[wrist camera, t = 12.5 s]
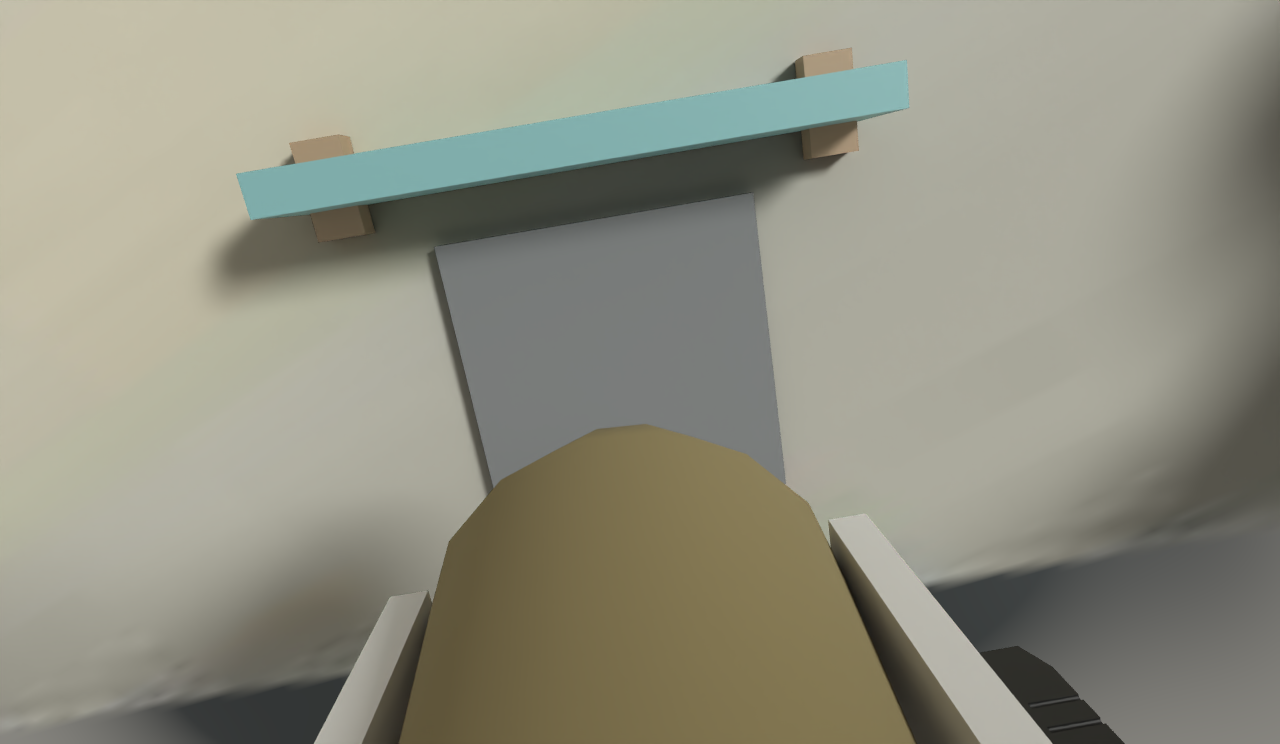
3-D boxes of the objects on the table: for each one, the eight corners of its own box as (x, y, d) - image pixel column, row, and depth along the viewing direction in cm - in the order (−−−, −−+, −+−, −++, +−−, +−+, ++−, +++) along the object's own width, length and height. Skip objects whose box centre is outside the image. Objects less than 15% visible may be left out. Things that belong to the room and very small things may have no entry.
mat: (437, 246, 29) (433, 247, 29) (750, 192, 29) (753, 192, 29) (506, 527, 33) (504, 533, 32) (782, 479, 33) (786, 484, 32)
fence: (290, 146, 28) (224, 138, 23) (853, 51, 28) (905, 23, 23) (318, 242, 29) (261, 253, 24) (859, 150, 29) (910, 142, 24)
